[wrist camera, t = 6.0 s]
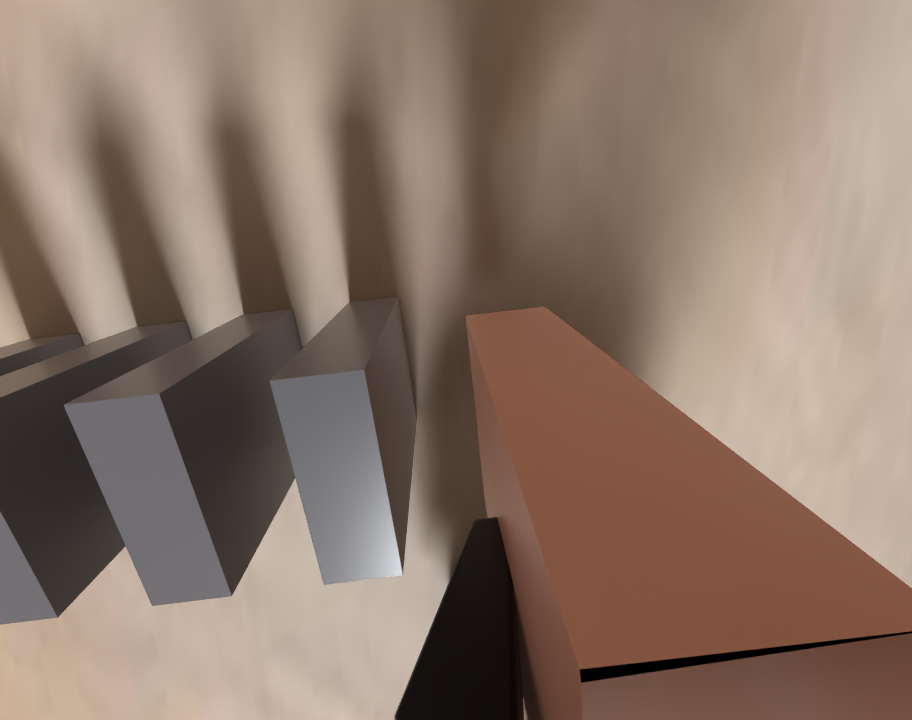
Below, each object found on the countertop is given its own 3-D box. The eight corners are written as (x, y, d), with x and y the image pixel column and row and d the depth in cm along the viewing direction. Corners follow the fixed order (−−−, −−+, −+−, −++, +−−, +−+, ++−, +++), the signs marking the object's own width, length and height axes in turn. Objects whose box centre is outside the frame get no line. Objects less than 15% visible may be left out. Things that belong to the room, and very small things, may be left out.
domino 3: (292, 308, 16) (158, 394, 8) (320, 429, 17) (231, 596, 10) (243, 314, 16) (63, 405, 8) (276, 434, 17) (152, 605, 10)
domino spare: (544, 306, 10) (960, 623, 2) (552, 493, 11) (806, 1075, 4) (465, 315, 10) (580, 673, 2) (485, 502, 11) (591, 1105, 4)
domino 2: (398, 296, 16) (363, 369, 8) (416, 418, 17) (402, 575, 10) (349, 302, 16) (269, 380, 8) (372, 423, 17) (323, 584, 10)
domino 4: (186, 320, 16) (-51, 418, 8) (224, 441, 17) (57, 617, 10) (137, 326, 16) (-147, 429, 8) (180, 446, 17) (-22, 627, 10)
